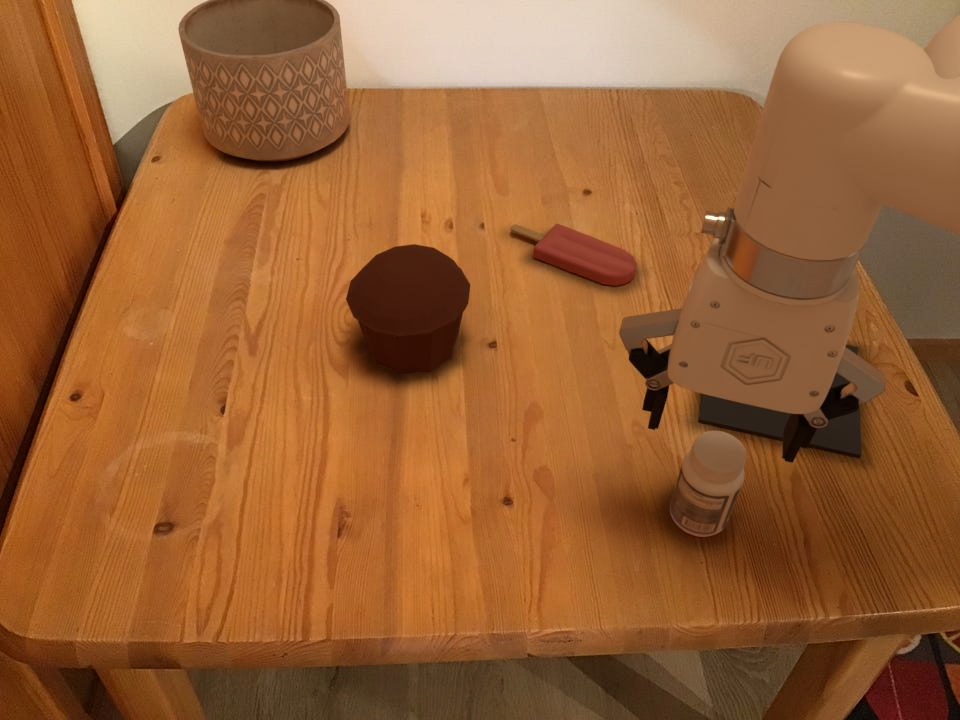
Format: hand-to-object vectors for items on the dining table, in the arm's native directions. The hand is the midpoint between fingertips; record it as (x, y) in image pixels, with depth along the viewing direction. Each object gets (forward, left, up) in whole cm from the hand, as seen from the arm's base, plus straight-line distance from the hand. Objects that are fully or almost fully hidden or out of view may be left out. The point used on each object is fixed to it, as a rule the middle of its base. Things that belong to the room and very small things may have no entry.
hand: (720, 431), depth 62 cm
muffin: (+29, -12, -11) cm, 33 cm away
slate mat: (-6, -17, -11) cm, 21 cm away
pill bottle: (0, 0, -11) cm, 11 cm away
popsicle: (+17, -30, -11) cm, 36 cm away
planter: (+58, -44, -11) cm, 74 cm away
